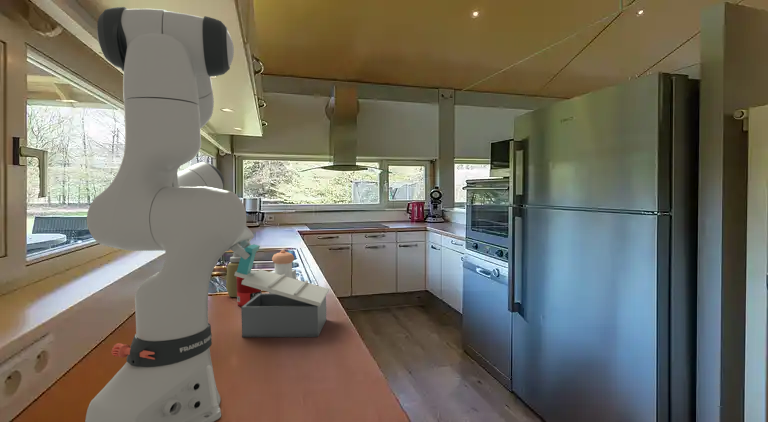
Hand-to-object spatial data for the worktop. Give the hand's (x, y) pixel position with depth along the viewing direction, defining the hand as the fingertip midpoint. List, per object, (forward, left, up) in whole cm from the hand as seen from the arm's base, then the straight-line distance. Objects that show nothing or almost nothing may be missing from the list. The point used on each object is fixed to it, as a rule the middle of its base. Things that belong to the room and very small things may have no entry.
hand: (251, 256), depth 110 cm
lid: (+3, -8, -9) cm, 12 cm away
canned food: (+19, +17, -21) cm, 33 cm away
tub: (+3, -9, -20) cm, 22 cm away
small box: (+27, +9, -21) cm, 35 cm away
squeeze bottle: (+27, +29, -21) cm, 45 cm away
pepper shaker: (+19, +3, -21) cm, 28 cm away
